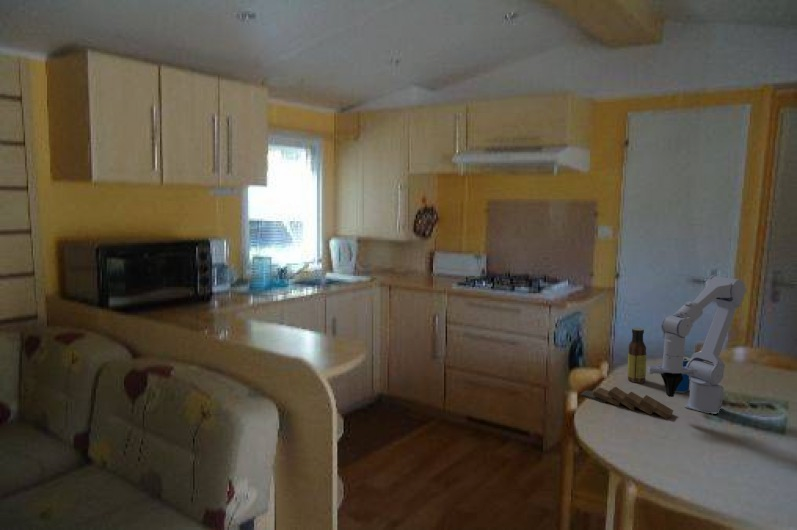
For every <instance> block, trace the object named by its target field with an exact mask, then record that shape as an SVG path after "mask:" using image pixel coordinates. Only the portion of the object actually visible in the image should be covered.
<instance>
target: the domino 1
mask: <svg viewBox="0 0 797 530" xmlns="http://www.w3.org/2000/svg"><path fill="white" fill-rule="evenodd" d="M593 392H594V391H591V390H587V389H586V390H584V391H583V392H581V393H580V394H579V396H580V397H583V398H586V399H590V400H593V399H594V401H597V400H598V401H597V402H600V401H602V402H601V403H604V402H606V403H608V402H607V401H605V400H602V399H600V398H598V397H595V396H593Z"/></svg>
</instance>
